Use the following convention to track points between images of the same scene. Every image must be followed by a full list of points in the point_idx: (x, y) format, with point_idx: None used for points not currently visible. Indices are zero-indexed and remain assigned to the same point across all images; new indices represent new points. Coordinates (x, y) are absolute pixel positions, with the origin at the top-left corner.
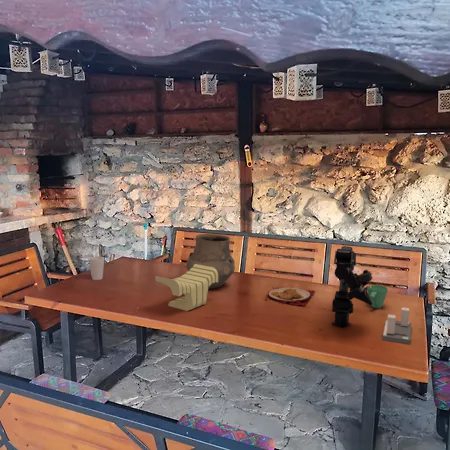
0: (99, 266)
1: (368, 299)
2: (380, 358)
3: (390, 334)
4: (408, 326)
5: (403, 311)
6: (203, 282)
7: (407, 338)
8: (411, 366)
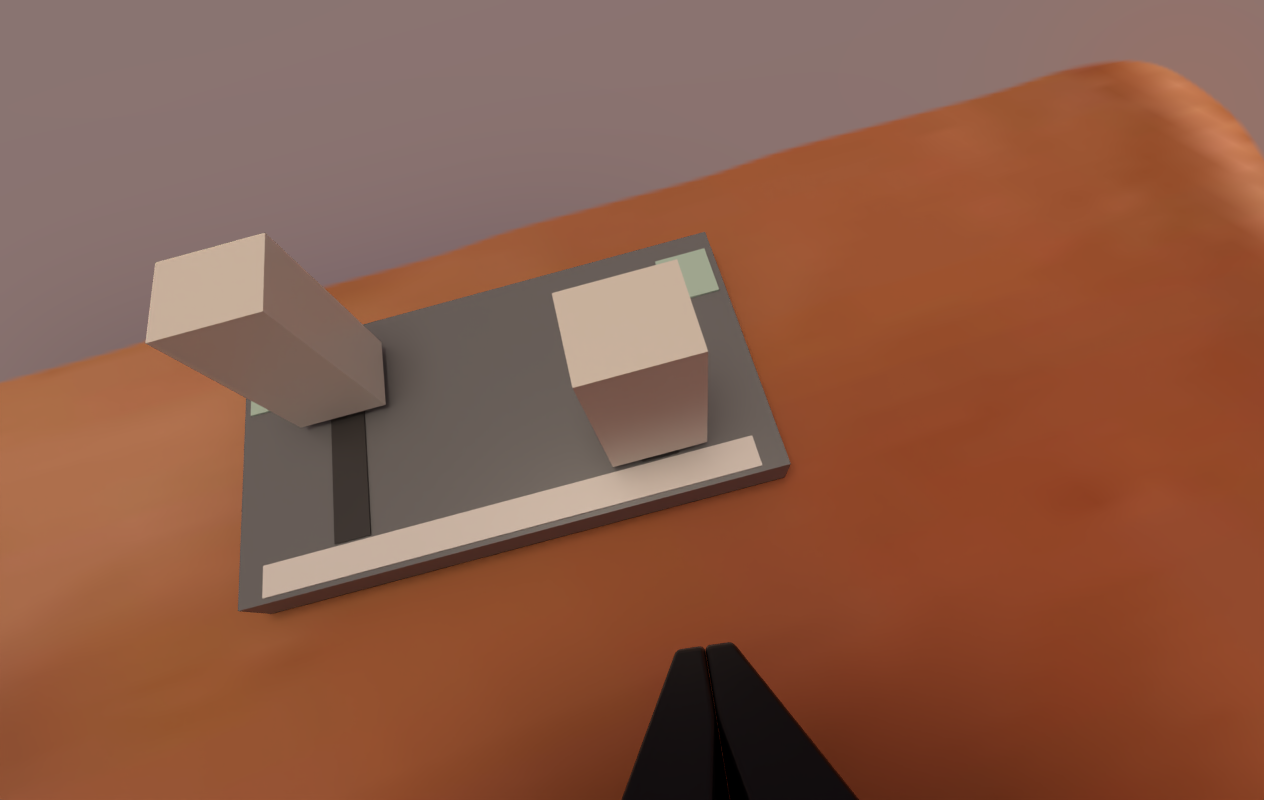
0: None
1: (845, 791)
2: (1233, 338)
3: None
4: None
5: (278, 300)
6: None
7: (688, 258)
8: (1130, 126)
